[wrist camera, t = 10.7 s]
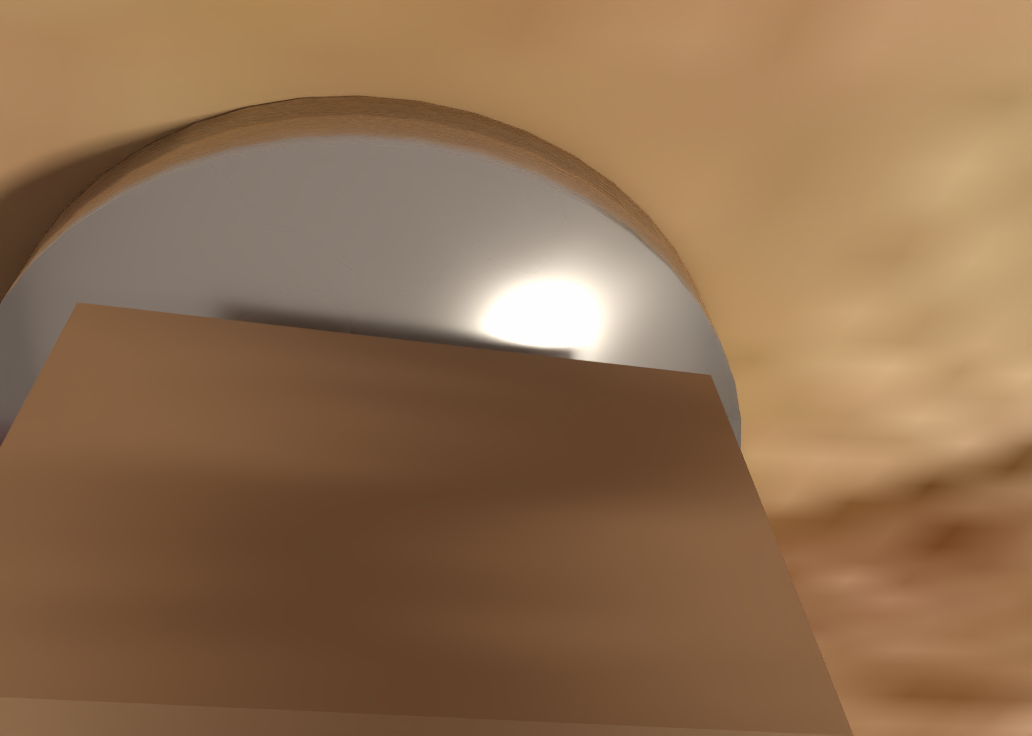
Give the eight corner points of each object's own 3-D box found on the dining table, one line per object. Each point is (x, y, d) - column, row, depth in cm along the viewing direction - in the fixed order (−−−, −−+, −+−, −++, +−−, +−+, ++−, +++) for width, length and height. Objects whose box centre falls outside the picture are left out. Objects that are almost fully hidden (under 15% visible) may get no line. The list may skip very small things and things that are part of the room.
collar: (710, 374, 10) (852, 735, 6) (574, 722, 13) (623, 1067, 10) (78, 303, 9) (-130, 691, 5) (112, 701, 12) (-3, 1082, 9)
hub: (824, 471, 14) (1021, 872, 9) (336, 715, 16) (303, 1121, 12) (446, -93, 9) (471, 174, 4) (-164, 380, 11) (-541, 854, 7)
